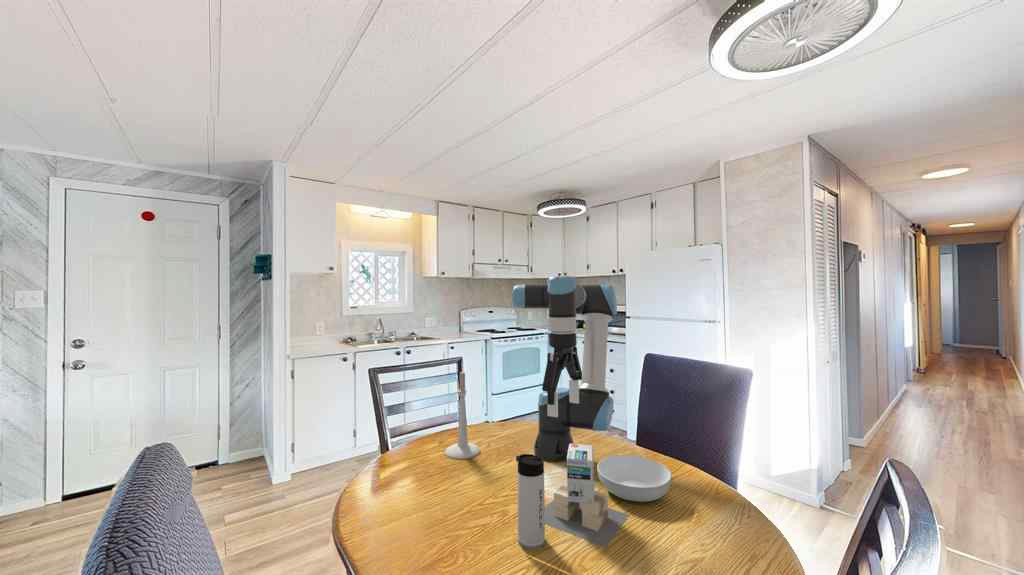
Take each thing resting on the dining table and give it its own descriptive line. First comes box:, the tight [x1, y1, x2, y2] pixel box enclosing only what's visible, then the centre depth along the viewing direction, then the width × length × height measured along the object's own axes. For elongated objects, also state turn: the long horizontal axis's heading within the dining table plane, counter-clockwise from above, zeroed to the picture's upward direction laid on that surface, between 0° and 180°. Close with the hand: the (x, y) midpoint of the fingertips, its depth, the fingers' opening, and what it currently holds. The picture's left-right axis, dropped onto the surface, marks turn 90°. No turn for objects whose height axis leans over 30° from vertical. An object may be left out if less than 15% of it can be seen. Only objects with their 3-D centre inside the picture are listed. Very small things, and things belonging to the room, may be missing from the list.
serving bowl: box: [596, 454, 672, 503], centre depth 114 cm, size 21×21×7 cm
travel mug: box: [515, 453, 546, 551], centre depth 91 cm, size 6×7×20 cm
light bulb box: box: [566, 443, 595, 504], centre depth 101 cm, size 11×7×11 cm, turn 168°
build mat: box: [544, 499, 630, 548], centre depth 101 cm, size 16×20×1 cm
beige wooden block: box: [553, 481, 580, 521], centre depth 103 cm, size 7×4×6 cm, turn 145°
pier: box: [582, 489, 609, 531], centre depth 99 cm, size 7×4×6 cm, turn 145°
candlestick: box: [445, 371, 481, 460], centre depth 145 cm, size 13×13×30 cm
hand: (564, 409), depth 107 cm, fingers open, 13 cm apart
